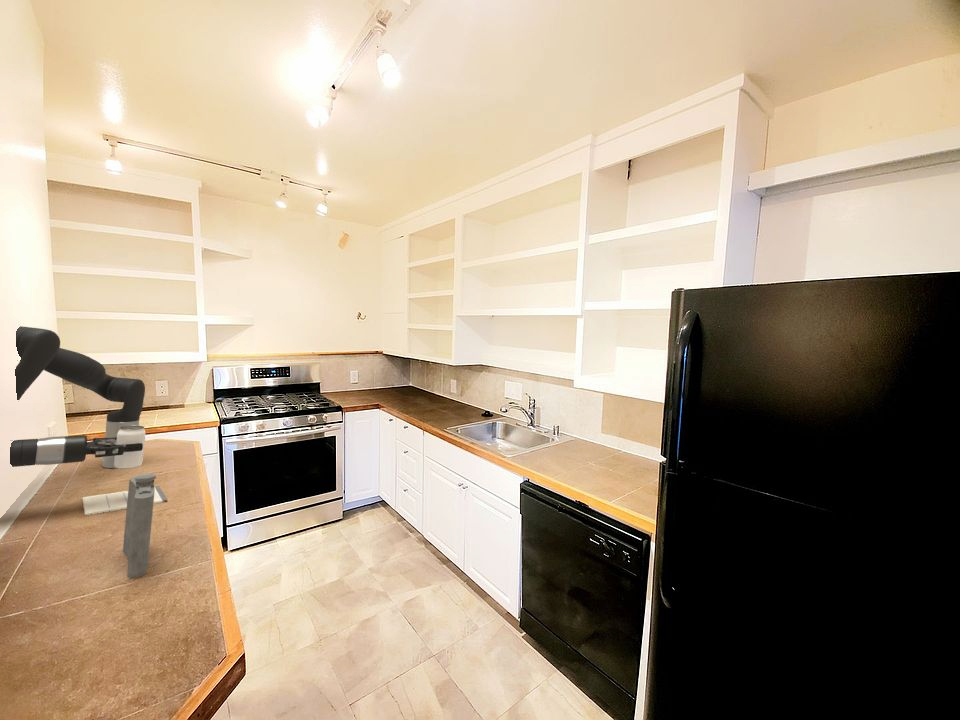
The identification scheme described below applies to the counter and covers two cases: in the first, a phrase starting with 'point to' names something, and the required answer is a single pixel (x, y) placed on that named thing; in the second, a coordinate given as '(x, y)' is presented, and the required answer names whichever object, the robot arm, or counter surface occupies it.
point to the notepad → (114, 501)
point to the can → (130, 437)
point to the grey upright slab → (138, 523)
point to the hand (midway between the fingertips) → (140, 444)
